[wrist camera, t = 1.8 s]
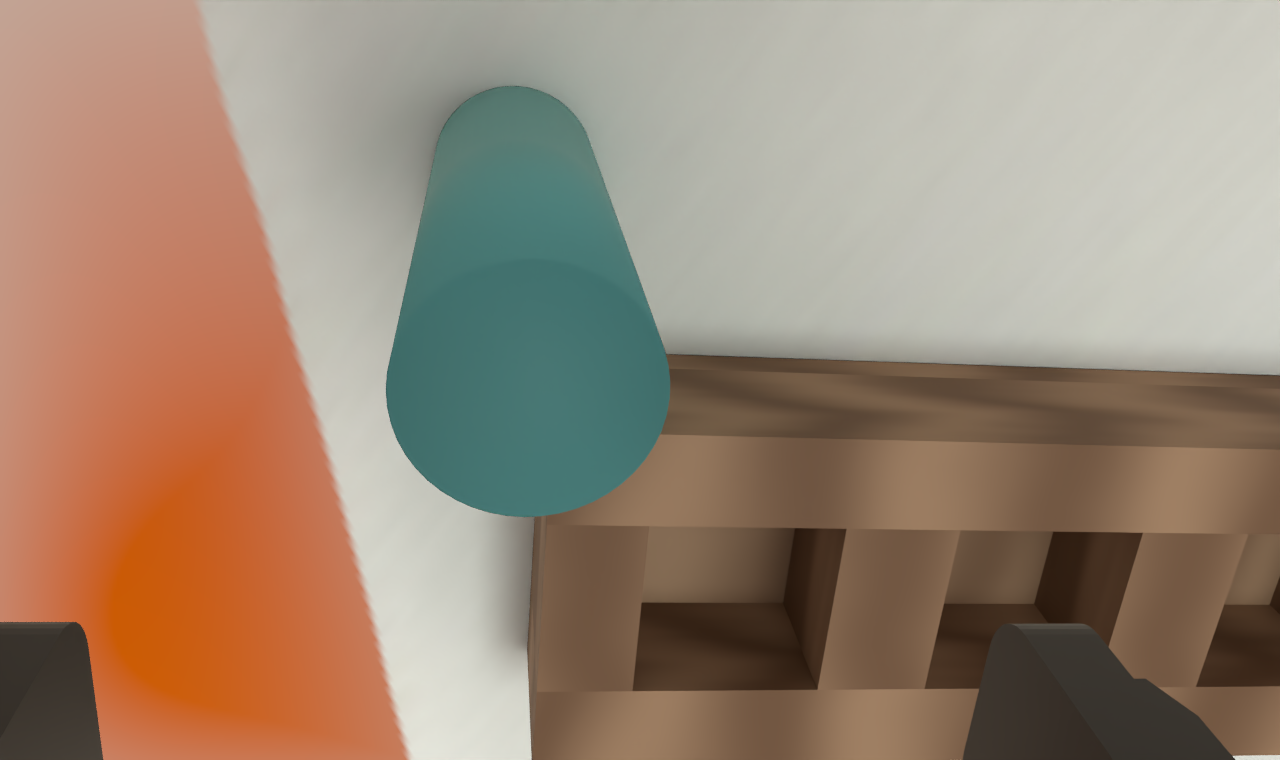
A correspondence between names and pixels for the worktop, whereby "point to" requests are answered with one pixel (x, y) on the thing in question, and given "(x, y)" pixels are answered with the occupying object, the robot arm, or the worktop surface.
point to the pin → (523, 319)
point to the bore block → (906, 557)
